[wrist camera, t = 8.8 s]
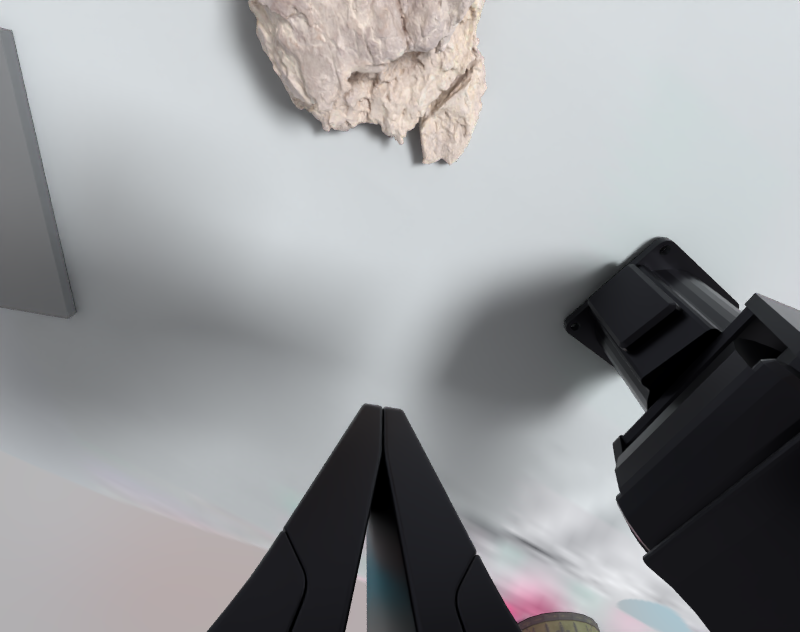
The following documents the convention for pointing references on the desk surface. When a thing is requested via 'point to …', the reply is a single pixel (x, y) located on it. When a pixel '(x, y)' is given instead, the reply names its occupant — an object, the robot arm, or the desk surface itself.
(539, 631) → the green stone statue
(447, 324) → the desk surface
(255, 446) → the desk surface
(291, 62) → the rock
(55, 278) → the mat
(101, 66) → the desk surface
